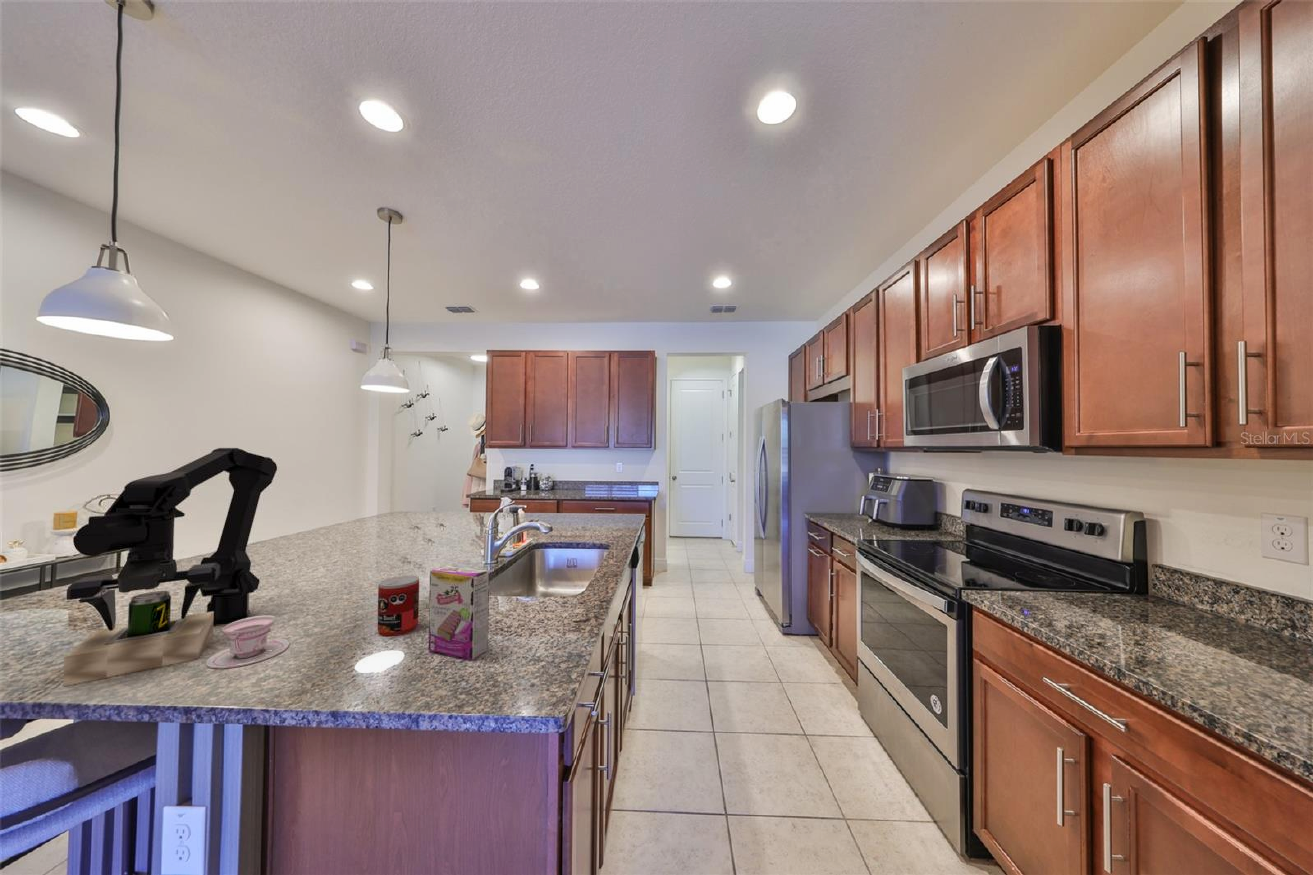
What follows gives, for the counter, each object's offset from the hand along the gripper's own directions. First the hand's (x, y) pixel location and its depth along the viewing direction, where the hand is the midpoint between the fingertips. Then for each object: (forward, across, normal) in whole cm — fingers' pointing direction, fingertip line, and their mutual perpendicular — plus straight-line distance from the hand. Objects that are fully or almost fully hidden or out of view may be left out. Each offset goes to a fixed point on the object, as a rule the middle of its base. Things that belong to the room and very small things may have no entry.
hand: (148, 623), depth 84 cm
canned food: (+7, +40, -15) cm, 44 cm away
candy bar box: (+7, +48, -35) cm, 60 cm away
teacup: (+7, +16, -10) cm, 20 cm away
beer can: (+7, 0, 0) cm, 7 cm away
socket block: (+6, 0, 0) cm, 6 cm away
